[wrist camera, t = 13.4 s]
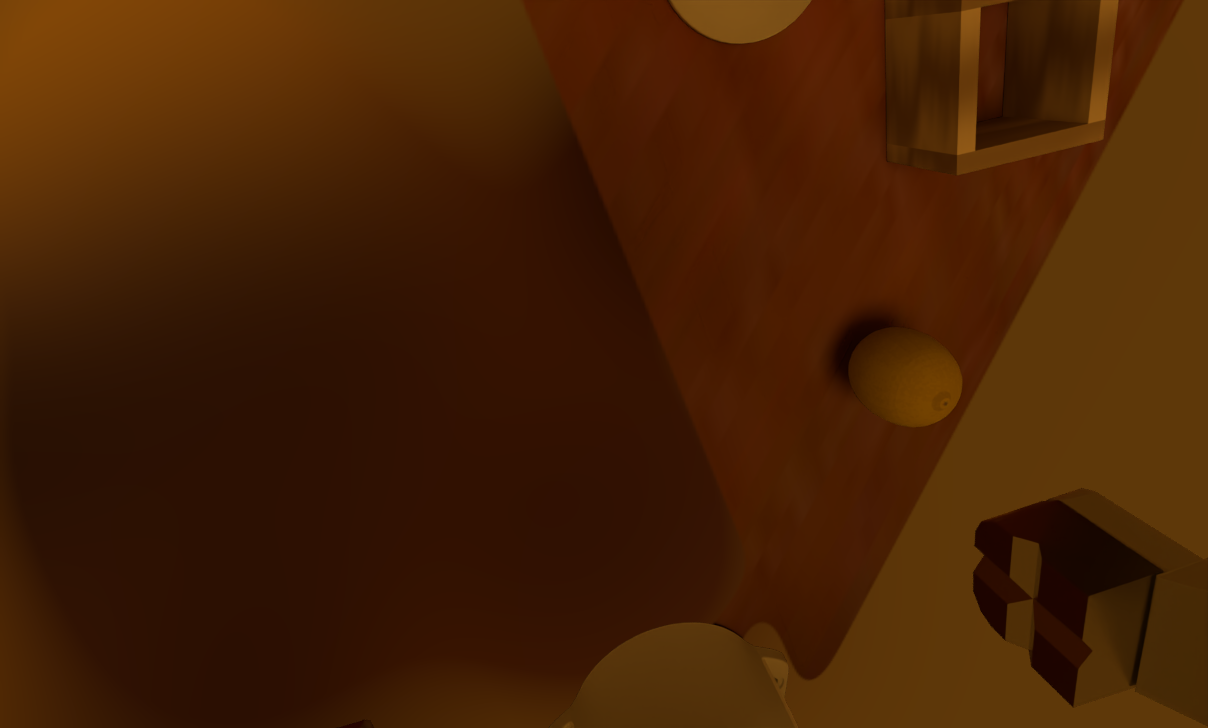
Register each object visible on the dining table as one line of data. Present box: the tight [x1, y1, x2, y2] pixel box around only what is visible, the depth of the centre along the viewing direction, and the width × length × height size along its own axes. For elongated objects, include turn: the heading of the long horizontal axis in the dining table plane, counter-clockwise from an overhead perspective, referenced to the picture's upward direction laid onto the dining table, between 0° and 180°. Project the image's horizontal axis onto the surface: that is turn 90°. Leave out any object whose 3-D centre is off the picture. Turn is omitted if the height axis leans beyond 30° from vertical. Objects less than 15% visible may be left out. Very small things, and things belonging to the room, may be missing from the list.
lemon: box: [848, 327, 962, 427], centre depth 42 cm, size 6×6×8 cm
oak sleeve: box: [885, 0, 1118, 175], centre depth 37 cm, size 8×8×6 cm
